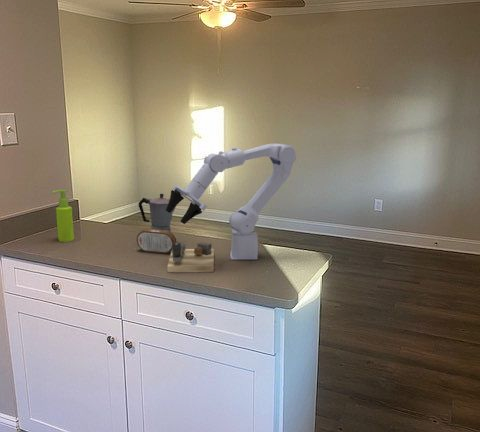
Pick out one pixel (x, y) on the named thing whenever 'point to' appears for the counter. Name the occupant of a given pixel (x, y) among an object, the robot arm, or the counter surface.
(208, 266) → the light wooden flat block
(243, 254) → the robot arm
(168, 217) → the moka pot
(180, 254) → the lever
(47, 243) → the counter surface
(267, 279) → the counter surface
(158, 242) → the tin
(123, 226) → the counter surface
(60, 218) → the soap dispenser
